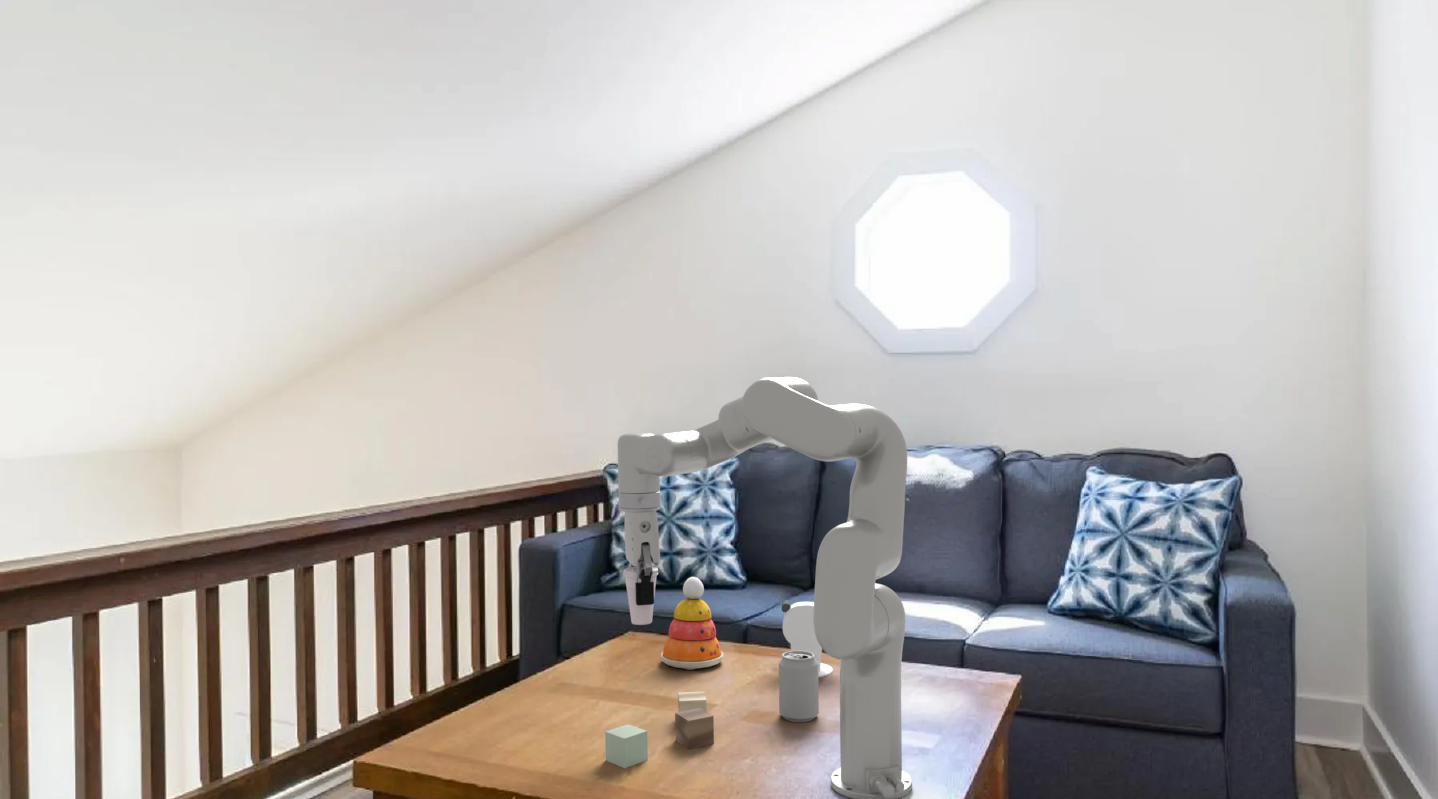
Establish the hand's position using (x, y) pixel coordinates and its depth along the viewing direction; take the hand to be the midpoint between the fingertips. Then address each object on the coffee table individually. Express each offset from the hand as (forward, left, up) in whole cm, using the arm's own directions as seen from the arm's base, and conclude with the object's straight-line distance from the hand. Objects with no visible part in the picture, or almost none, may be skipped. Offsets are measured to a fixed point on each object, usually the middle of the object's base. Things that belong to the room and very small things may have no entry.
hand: (641, 599), depth 183 cm
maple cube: (+3, -10, -24) cm, 27 cm away
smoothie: (0, 0, -4) cm, 4 cm away
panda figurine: (+28, -42, -25) cm, 56 cm away
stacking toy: (+41, -19, -25) cm, 51 cm away
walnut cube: (-7, -8, -24) cm, 27 cm away
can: (0, -30, -25) cm, 39 cm away
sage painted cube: (-12, +5, -24) cm, 28 cm away
